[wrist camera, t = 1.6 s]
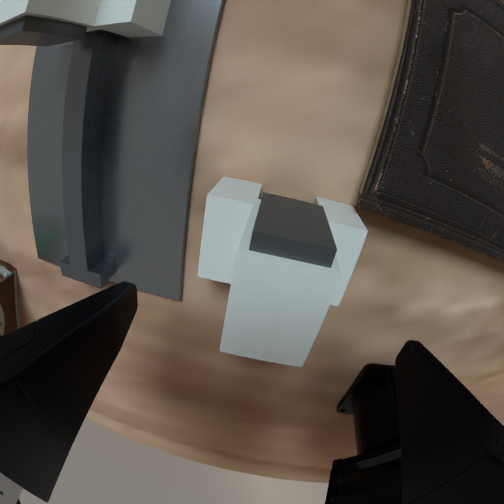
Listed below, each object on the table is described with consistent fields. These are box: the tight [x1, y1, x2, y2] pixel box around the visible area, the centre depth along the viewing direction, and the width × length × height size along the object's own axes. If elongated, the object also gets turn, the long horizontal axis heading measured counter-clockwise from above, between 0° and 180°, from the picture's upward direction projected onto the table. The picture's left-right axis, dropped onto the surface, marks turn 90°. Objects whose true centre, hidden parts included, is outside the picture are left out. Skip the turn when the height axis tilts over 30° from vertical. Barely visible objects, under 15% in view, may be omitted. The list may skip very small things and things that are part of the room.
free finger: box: [198, 177, 368, 367], centre depth 12 cm, size 5×7×8 cm
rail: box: [27, 0, 225, 301], centre depth 12 cm, size 22×12×3 cm, turn 170°
